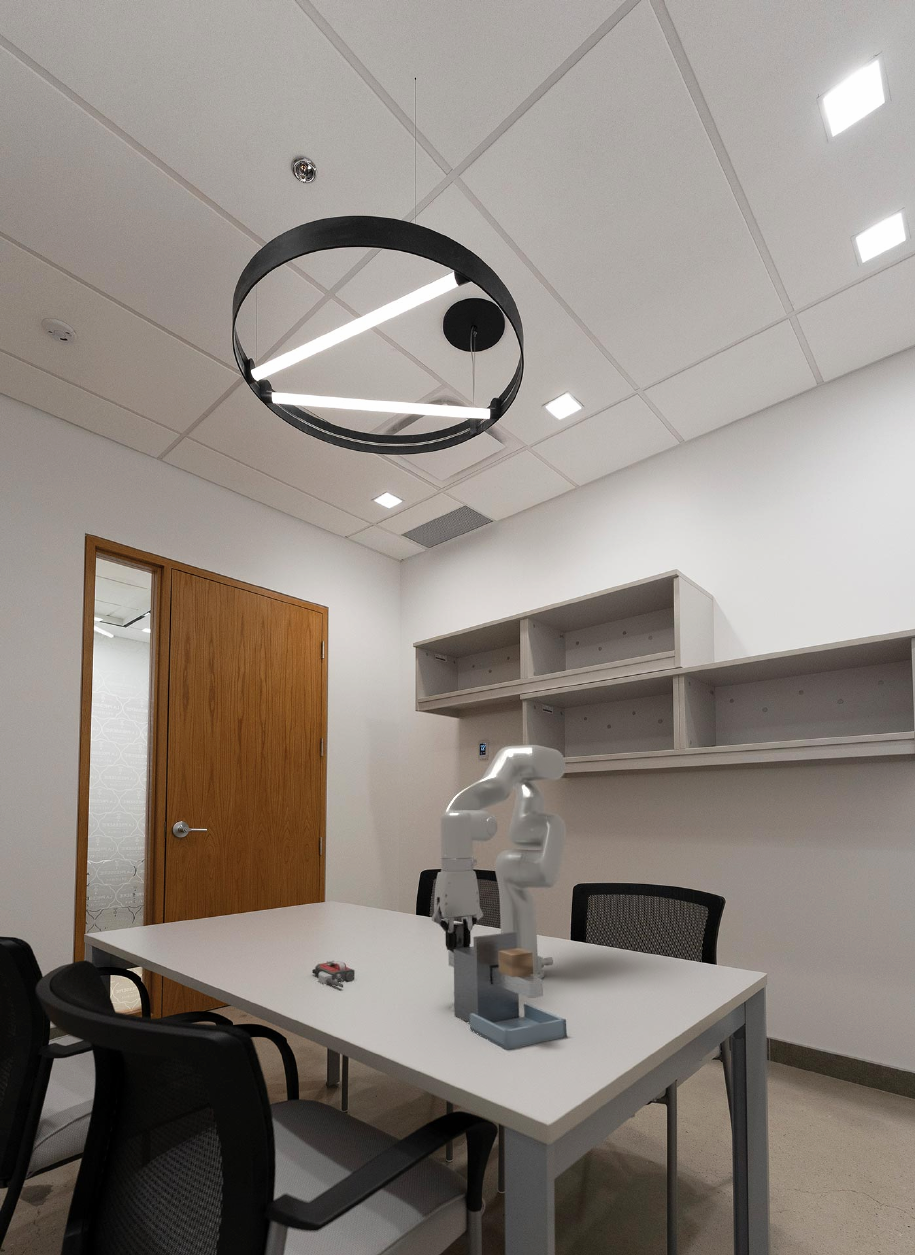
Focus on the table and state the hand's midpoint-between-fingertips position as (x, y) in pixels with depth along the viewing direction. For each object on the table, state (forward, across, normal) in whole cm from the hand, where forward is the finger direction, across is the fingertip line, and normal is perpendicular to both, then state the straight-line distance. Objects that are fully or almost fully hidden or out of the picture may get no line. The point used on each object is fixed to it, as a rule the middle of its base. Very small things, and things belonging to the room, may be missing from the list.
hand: (458, 948), depth 163 cm
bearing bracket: (+12, 0, +12) cm, 17 cm away
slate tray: (+12, 0, +24) cm, 27 cm away
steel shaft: (+4, 0, +14) cm, 15 cm away
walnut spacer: (+1, 0, +24) cm, 24 cm away
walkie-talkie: (+12, +16, -36) cm, 42 cm away
